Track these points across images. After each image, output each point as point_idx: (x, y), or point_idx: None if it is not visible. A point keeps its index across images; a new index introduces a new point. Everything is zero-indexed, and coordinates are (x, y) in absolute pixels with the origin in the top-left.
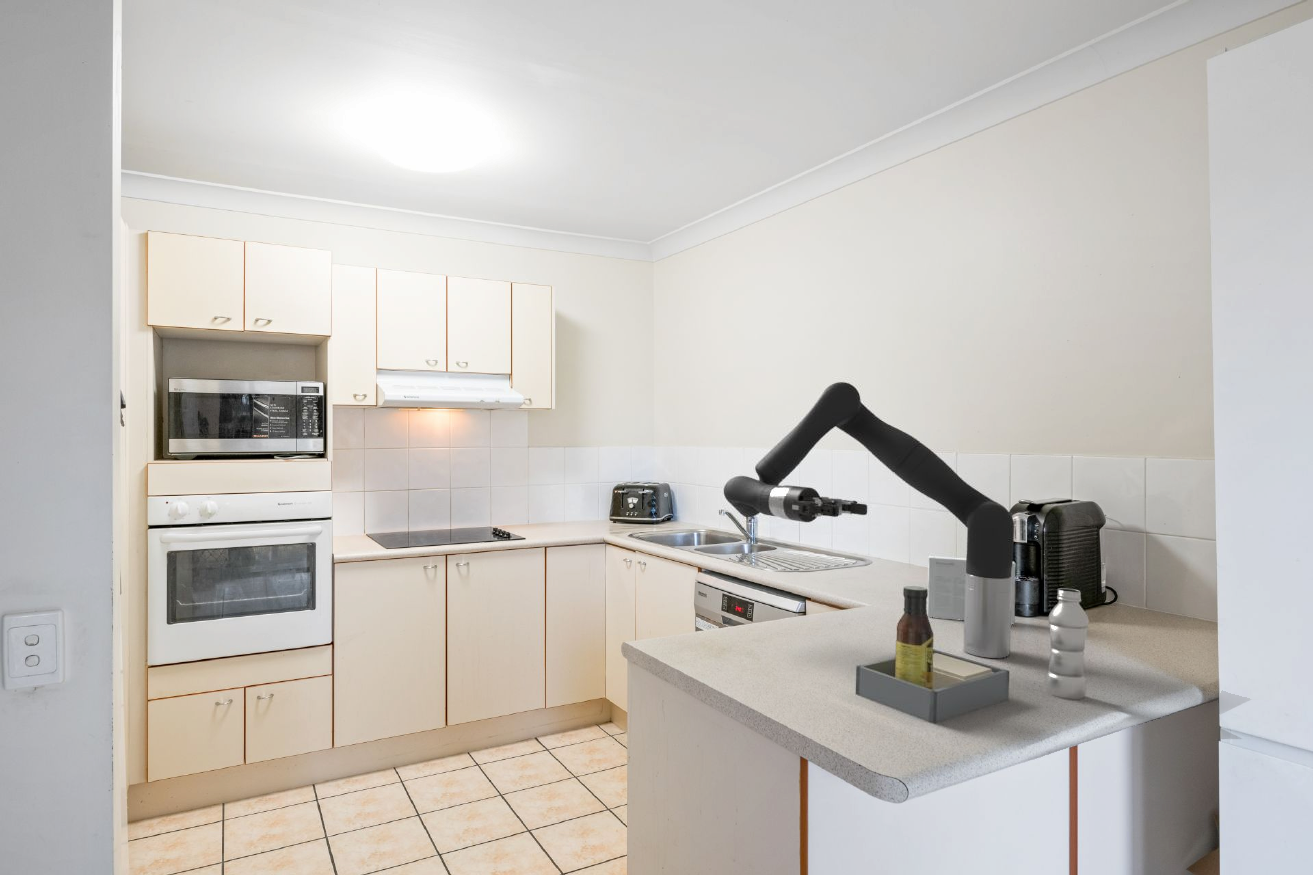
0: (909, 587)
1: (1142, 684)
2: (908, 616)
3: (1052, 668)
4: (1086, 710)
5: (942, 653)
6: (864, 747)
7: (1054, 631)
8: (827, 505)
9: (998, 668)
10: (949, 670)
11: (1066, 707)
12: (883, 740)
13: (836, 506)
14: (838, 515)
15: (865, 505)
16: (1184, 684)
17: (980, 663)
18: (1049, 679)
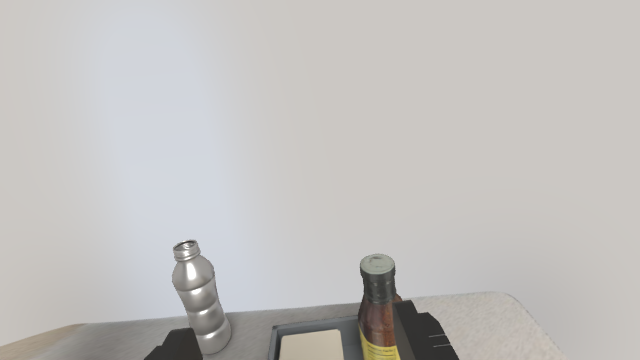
0: (384, 265)
1: (104, 343)
2: (396, 293)
3: (219, 321)
4: (235, 321)
5: None
6: (510, 332)
7: (211, 286)
8: (433, 348)
9: (274, 334)
10: (333, 349)
11: (240, 331)
12: (481, 336)
13: (406, 300)
14: (394, 336)
15: (184, 329)
16: (82, 330)
17: (272, 354)
18: (223, 333)
